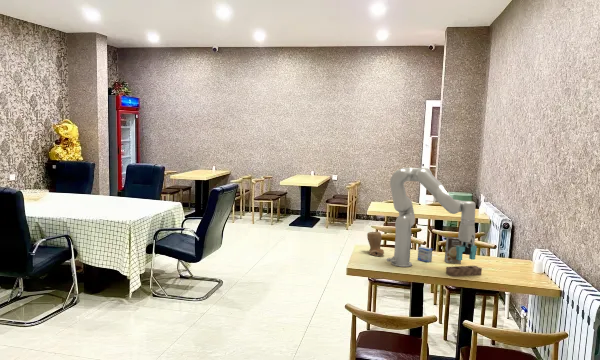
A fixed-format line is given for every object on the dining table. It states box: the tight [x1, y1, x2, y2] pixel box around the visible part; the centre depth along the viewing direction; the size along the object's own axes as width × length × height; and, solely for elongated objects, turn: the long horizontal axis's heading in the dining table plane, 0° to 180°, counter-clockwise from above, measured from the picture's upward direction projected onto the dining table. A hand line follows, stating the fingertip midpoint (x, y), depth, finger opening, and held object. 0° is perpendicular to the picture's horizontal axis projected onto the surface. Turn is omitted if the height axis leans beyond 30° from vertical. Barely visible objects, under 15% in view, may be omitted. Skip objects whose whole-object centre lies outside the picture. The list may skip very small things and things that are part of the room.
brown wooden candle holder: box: [445, 265, 483, 277], centre depth 273 cm, size 20×6×4 cm, turn 107°
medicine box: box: [417, 245, 433, 263], centre depth 300 cm, size 8×4×9 cm, turn 47°
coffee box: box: [444, 236, 462, 265], centre depth 299 cm, size 9×6×16 cm
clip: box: [456, 244, 478, 261], centre depth 272 cm, size 12×3×8 cm, turn 107°
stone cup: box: [366, 231, 385, 257], centre depth 312 cm, size 15×12×15 cm
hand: (465, 253), depth 272 cm, fingers closed on clip, 3 cm apart
